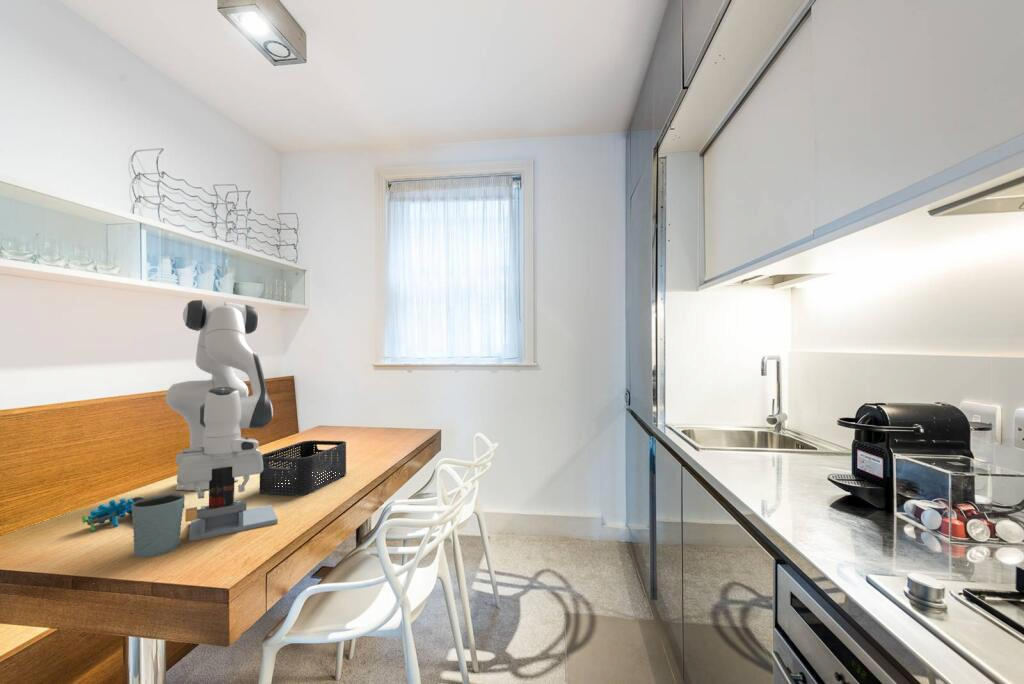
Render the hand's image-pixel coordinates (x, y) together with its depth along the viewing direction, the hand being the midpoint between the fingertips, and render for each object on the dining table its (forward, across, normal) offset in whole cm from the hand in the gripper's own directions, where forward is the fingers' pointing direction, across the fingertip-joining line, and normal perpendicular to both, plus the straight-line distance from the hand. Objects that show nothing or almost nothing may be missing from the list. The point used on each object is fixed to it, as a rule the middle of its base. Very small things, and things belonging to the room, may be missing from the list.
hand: (221, 494), depth 121 cm
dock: (+8, +3, -1) cm, 9 cm away
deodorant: (+7, 0, 0) cm, 7 cm away
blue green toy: (+9, -26, +19) cm, 33 cm away
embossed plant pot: (+9, -13, -10) cm, 18 cm away
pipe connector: (+9, -15, +22) cm, 28 cm away
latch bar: (+4, -1, -6) cm, 7 cm away
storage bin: (+9, +27, +31) cm, 42 cm away
